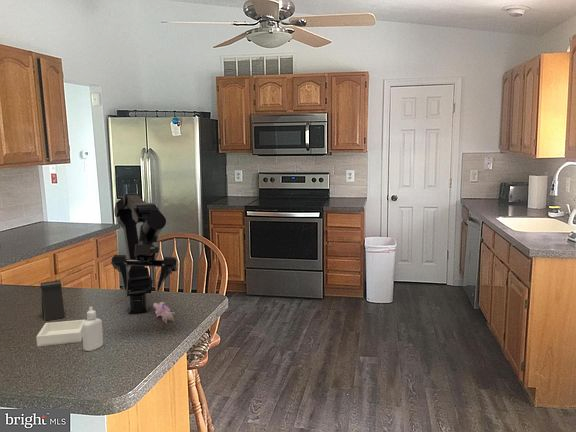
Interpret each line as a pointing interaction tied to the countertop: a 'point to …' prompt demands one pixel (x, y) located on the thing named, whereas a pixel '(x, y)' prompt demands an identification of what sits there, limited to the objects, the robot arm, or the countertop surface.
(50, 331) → the tray
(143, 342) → the countertop surface
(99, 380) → the countertop surface
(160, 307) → the pink creature figurine
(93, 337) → the eye dropper bottle
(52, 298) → the phone stand
